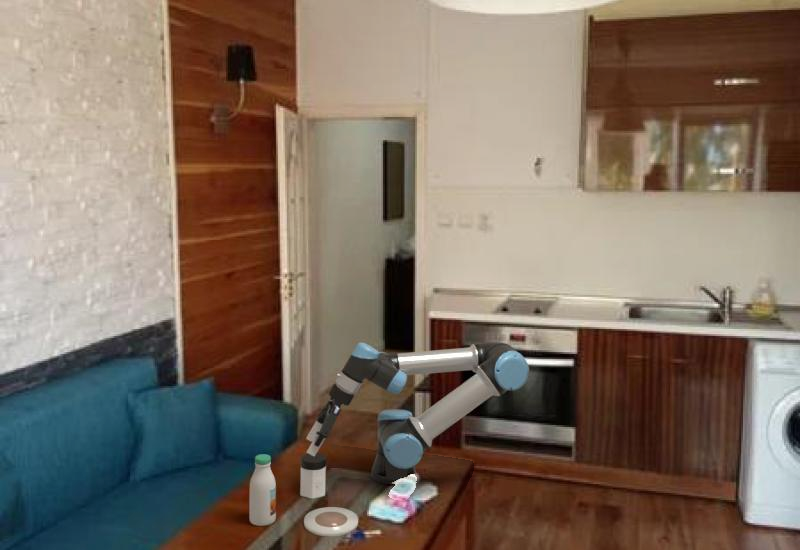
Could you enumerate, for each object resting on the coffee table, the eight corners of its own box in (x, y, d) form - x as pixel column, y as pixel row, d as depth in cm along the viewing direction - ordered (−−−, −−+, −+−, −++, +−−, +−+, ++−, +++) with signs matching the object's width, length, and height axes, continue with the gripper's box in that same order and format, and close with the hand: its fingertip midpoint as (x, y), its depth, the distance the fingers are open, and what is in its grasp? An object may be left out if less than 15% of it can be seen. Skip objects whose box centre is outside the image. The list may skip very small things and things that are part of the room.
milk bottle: (263, 529, 222) (263, 464, 219) (243, 521, 226) (243, 457, 223) (281, 519, 229) (281, 455, 225) (261, 512, 233) (261, 449, 229)
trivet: (354, 509, 236) (354, 505, 236) (361, 534, 221) (361, 530, 220) (302, 512, 233) (302, 508, 233) (305, 538, 218) (305, 533, 218)
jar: (306, 501, 241) (306, 464, 239) (294, 491, 247) (295, 455, 246) (331, 494, 246) (332, 459, 244) (319, 485, 252) (320, 450, 251)
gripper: (332, 374, 251) (299, 429, 251) (336, 393, 226) (299, 454, 227) (352, 385, 252) (319, 440, 253) (358, 405, 228) (321, 466, 228)
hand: (310, 447), depth 240 cm, fingers open, 13 cm apart
